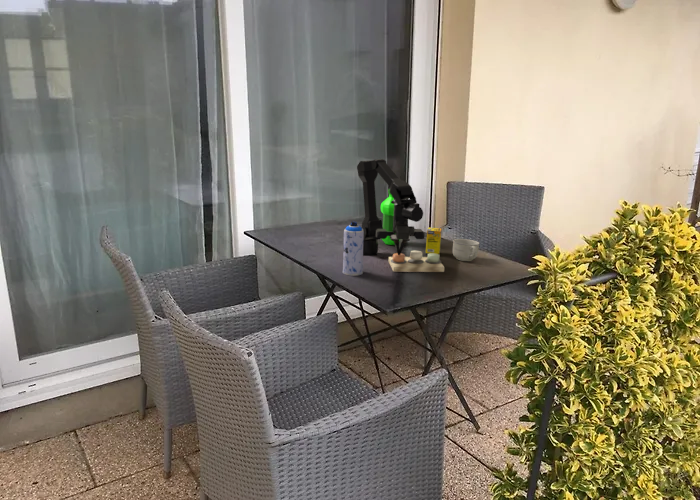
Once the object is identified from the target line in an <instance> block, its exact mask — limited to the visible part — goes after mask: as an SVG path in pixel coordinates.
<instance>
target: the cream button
mask: <svg viewBox="0 0 700 500" xmlns="http://www.w3.org/2000/svg"><path fill="white" fill-rule="evenodd" d="M409 257H410V258H411V259H415V260H419V259H422V257H423V251H421V250H410V252H409Z"/></svg>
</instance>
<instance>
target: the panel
mask: <svg viewBox="0 0 700 500" xmlns="http://www.w3.org/2000/svg"><path fill="white" fill-rule="evenodd" d="M388 263H389V266H390V267H391V269H392V272H395V273H398V272H400V273H402V272H403V273H407V272H408V273H411V272H413V273H415V272H416V273H419V272H420V273H421V272H422V273H423V272H424V273H444V272H445V266H444V264H443V263H442V260H440V259H439V262H429V261H427V256H422V259H419V260H415V259H411V258H410V256H405V261H404V262H394V261H393V256H388Z"/></svg>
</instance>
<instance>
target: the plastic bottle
mask: <svg viewBox="0 0 700 500" xmlns="http://www.w3.org/2000/svg"><path fill="white" fill-rule="evenodd" d="M387 193H388V197H387V198H386V199H384V200H383V201H382V202H381V204H380V212H381V214H382V227H383V229H386V230H387V231H393V217H394V204H392V203H391V201H392V200H394V198H393V197H392V195H391V193H390V188H388V189H387ZM381 241H382V242H383V243H384V244H385V245H387V246H388V245H391V246H395V243H394V241H392V240H391V239H390V236H387V238H385V239H381ZM399 242H400V239H399Z"/></svg>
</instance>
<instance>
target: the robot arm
mask: <svg viewBox="0 0 700 500" xmlns="http://www.w3.org/2000/svg"><path fill="white" fill-rule="evenodd" d="M356 170H357V174H358V178H359V179H360V180H361V183H362V190H363V191H362V192H363V205H364V206H363V207H364V219H363V220H362V223H361V228H362V229H363V231H364V238H363V256H377V255H378V250H379V249H378V247H379V246H378V245H379V243H378V240H382V239H385V238H387V236H390V239H391V240H392V241H394V243H395V245H394V246H395V250H396V253H397V254H398V255H400V254H401V253H402V251H403V249H404V247H405V244H406V243H407V242H409V241H410V237H414V238H415V239H416V240H425V232H424V230H423V229H422V228H415V226H414V225H410V226H409V221H411V222H420V221H421V220H422V219H423V217H424V211H423V208H422V207H420V206H421V205H420V203H417V202H418V201H417V197H416V196H415V194H414V190H413V188H412V185H410V184H409V183H408V182H407V181H405V180H403V179H401V178H399V177H398V175H397V174H396V173H395V171H393V169H392V168H391V167H390V166H389V165H388V164H387V161H386V160H385V159H383V158H379V159H378V158H377V159H373V160H360V161H359V162H358V164H357V166H356ZM378 176H380V177H381V179H383V181H384V182H385V183H386V184H387V186H388V187H389V189H390V193H391V195H392V197H393V198H394V200H392V201H391V203H392V204H394V217H393V231H387V230H386V229H383V219H379V217H378V214H377V213H378V212H377V211H378V210H377V199H376V183H375V182H376V179H377V177H378ZM399 239H400V241H399Z"/></svg>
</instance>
